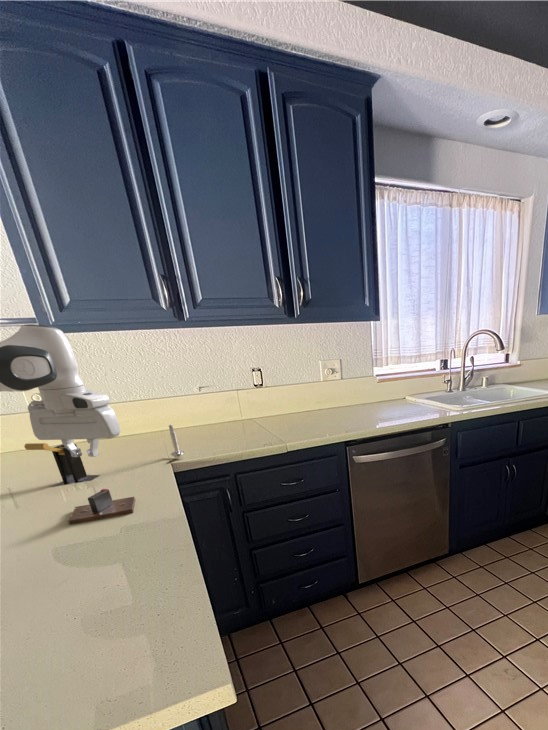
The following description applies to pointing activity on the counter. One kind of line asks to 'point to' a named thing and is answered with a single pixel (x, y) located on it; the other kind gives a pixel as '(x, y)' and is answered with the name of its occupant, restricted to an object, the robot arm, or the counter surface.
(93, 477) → the handle bracket
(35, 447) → the lever
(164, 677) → the counter surface
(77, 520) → the lock plate
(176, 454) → the screw
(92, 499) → the lock knob
